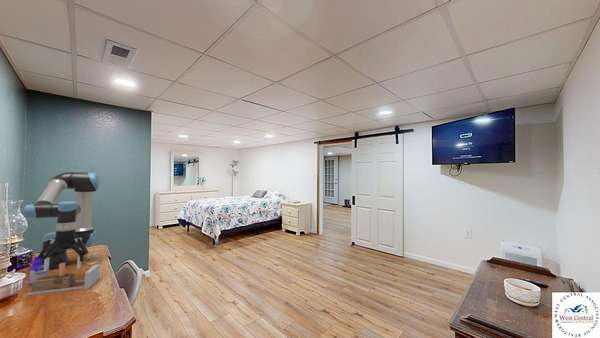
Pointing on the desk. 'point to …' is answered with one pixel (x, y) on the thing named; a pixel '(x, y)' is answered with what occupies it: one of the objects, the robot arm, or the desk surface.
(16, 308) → the desk surface
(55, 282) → the block
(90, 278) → the rail
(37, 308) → the desk surface
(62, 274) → the dowel
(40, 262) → the bottle
